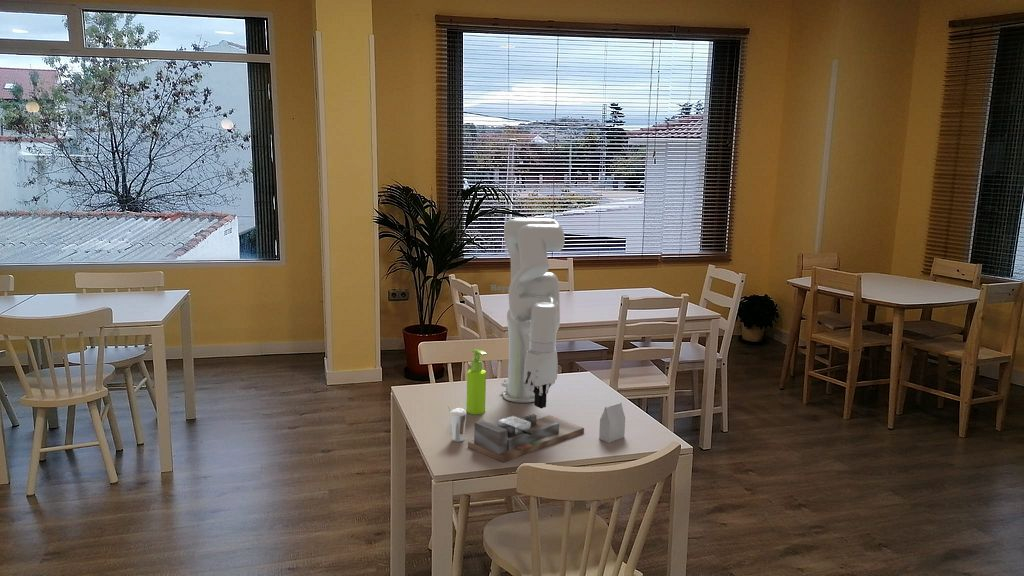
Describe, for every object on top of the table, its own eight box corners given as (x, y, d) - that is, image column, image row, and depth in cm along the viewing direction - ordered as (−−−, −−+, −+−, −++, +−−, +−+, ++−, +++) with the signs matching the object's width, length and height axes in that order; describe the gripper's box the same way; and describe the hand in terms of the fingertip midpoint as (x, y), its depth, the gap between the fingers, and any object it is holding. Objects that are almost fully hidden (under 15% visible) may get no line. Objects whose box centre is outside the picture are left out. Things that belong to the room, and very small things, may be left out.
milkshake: (448, 436, 212) (448, 403, 210) (466, 437, 212) (467, 403, 210) (446, 442, 207) (446, 408, 205) (465, 443, 207) (465, 409, 205)
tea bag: (624, 437, 215) (626, 404, 213) (608, 442, 210) (610, 409, 209) (614, 433, 217) (616, 401, 216) (599, 438, 213) (600, 405, 211)
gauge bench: (549, 419, 227) (550, 396, 226) (583, 432, 217) (585, 408, 216) (467, 446, 204) (468, 420, 203) (502, 462, 195) (503, 435, 193)
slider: (512, 432, 211) (513, 415, 210) (538, 442, 204) (538, 425, 203) (489, 439, 205) (489, 422, 204) (515, 450, 198) (515, 432, 197)
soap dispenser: (476, 416, 229) (477, 354, 225) (462, 410, 234) (463, 349, 230) (491, 412, 232) (492, 351, 229) (477, 406, 237) (478, 346, 234)
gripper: (550, 338, 218) (548, 397, 222) (514, 347, 207) (512, 409, 211) (569, 344, 212) (566, 404, 216) (533, 353, 202) (531, 416, 206)
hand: (540, 406), depth 214 cm, fingers closed
